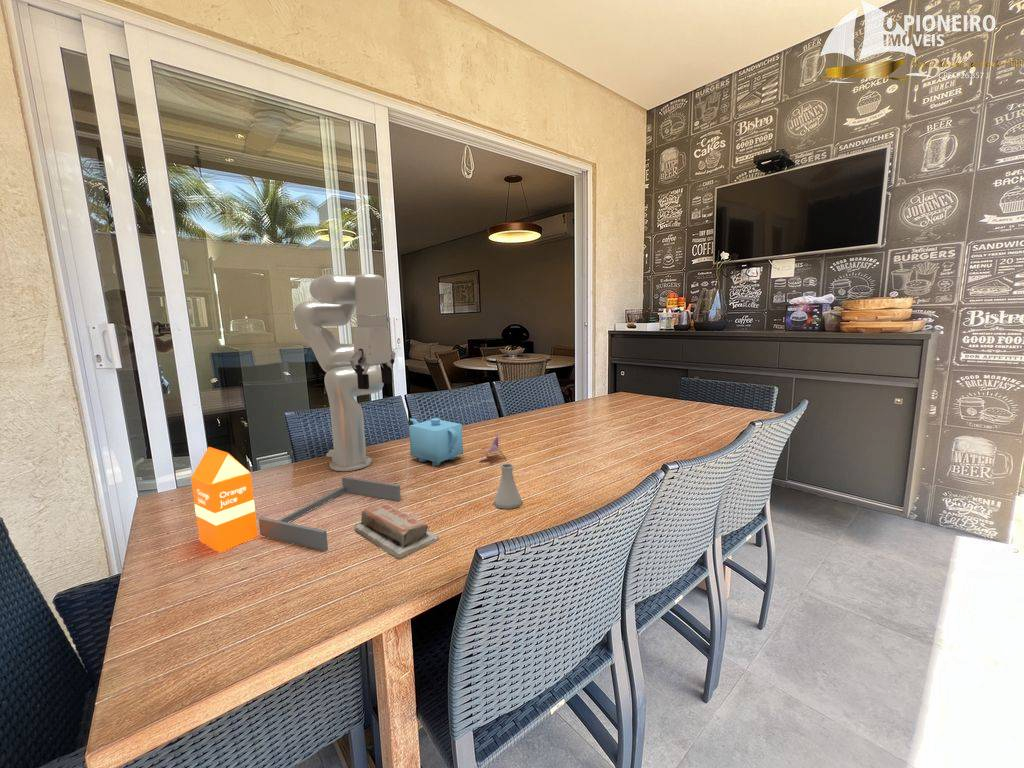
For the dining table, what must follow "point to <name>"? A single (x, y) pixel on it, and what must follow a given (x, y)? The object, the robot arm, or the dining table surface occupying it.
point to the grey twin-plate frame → (312, 535)
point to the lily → (494, 446)
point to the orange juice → (223, 501)
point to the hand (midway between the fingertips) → (375, 386)
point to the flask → (507, 490)
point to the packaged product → (394, 530)
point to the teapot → (435, 440)
